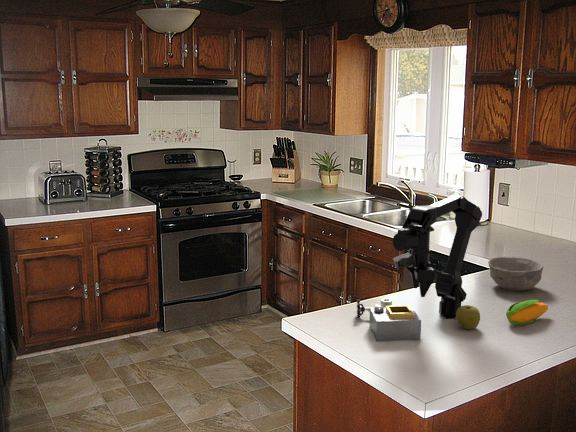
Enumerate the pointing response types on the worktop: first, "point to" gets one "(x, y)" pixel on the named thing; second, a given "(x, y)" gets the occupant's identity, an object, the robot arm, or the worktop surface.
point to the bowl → (515, 272)
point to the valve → (383, 304)
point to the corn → (525, 312)
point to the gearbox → (395, 323)
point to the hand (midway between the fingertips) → (419, 292)
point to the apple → (468, 317)
